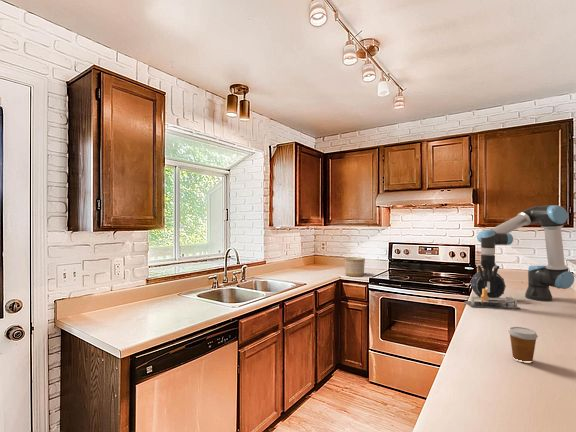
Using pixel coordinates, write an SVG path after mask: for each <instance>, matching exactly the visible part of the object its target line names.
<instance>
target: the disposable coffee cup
mask: <svg viewBox="0 0 576 432" xmlns="http://www.w3.org/2000/svg"><path fill="white" fill-rule="evenodd" d="M508 333H509V338H510V339H509V340H510V343H511V345H510V346H511V352H512V358H513V357H514V358H515V359H518V360H522V361H534V354H535V349H536V343H537V342H536V341H537V339H538V337H539V336H538V334H537V332H536V331H535V330H534V329H530V328H527V327H521V326H511V327H510V328H509V330H508Z"/></svg>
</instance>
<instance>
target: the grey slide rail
mask: <svg viewBox="0 0 576 432" xmlns="http://www.w3.org/2000/svg"><path fill="white" fill-rule="evenodd" d="M481 299H482V300H483V297H479V296H471V300H470V301H471V305H474V301H475V300H481ZM488 301H505V303H506V305H508V303H513V304H514V307H517V306H518V298H516V297H515V298H514V297H512V296H505V297H499V298H491V297H488Z"/></svg>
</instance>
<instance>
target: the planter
mask: <svg viewBox="0 0 576 432" xmlns="http://www.w3.org/2000/svg"><path fill="white" fill-rule="evenodd" d="M365 262H366V259H365V257H360V256H346V257H344V273H345V275H346V276H347V277H353V278H356V277H357V278H358V277H363V276H364V275H365V264H366V263H365Z"/></svg>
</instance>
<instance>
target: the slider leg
mask: <svg viewBox="0 0 576 432" xmlns="http://www.w3.org/2000/svg"><path fill="white" fill-rule="evenodd" d="M481 297H483V300H482V299H480V300H481V301H480V302H481V304H483V302H489V300H488V296H487V289H482V295H481Z"/></svg>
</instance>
